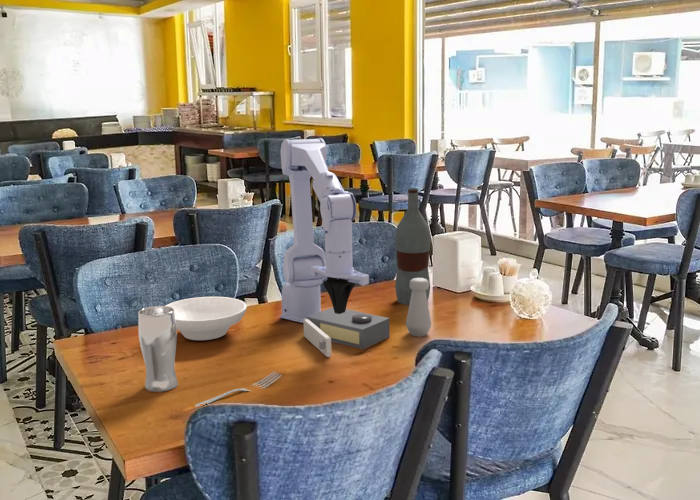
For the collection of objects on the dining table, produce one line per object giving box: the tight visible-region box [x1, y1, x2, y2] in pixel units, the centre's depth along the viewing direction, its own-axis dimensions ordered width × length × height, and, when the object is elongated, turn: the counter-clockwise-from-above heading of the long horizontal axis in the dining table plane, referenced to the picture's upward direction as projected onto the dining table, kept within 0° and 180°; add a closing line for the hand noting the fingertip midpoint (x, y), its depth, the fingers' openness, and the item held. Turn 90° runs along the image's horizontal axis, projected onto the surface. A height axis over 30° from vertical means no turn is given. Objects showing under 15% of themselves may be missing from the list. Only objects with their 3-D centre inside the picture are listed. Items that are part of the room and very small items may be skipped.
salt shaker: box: [405, 278, 432, 337], centre depth 169 cm, size 6×6×13 cm
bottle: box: [394, 187, 432, 306], centre depth 194 cm, size 9×9×30 cm
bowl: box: [165, 296, 247, 341], centre depth 170 cm, size 20×20×7 cm
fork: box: [194, 371, 282, 407], centre depth 136 cm, size 3×24×2 cm, turn 132°
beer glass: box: [137, 305, 179, 393], centre depth 140 cm, size 7×7×15 cm
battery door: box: [302, 318, 332, 358], centre depth 162 cm, size 16×2×4 cm, turn 22°
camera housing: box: [307, 307, 390, 350], centre depth 168 cm, size 16×10×5 cm, turn 52°
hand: (339, 312), depth 159 cm, fingers closed
